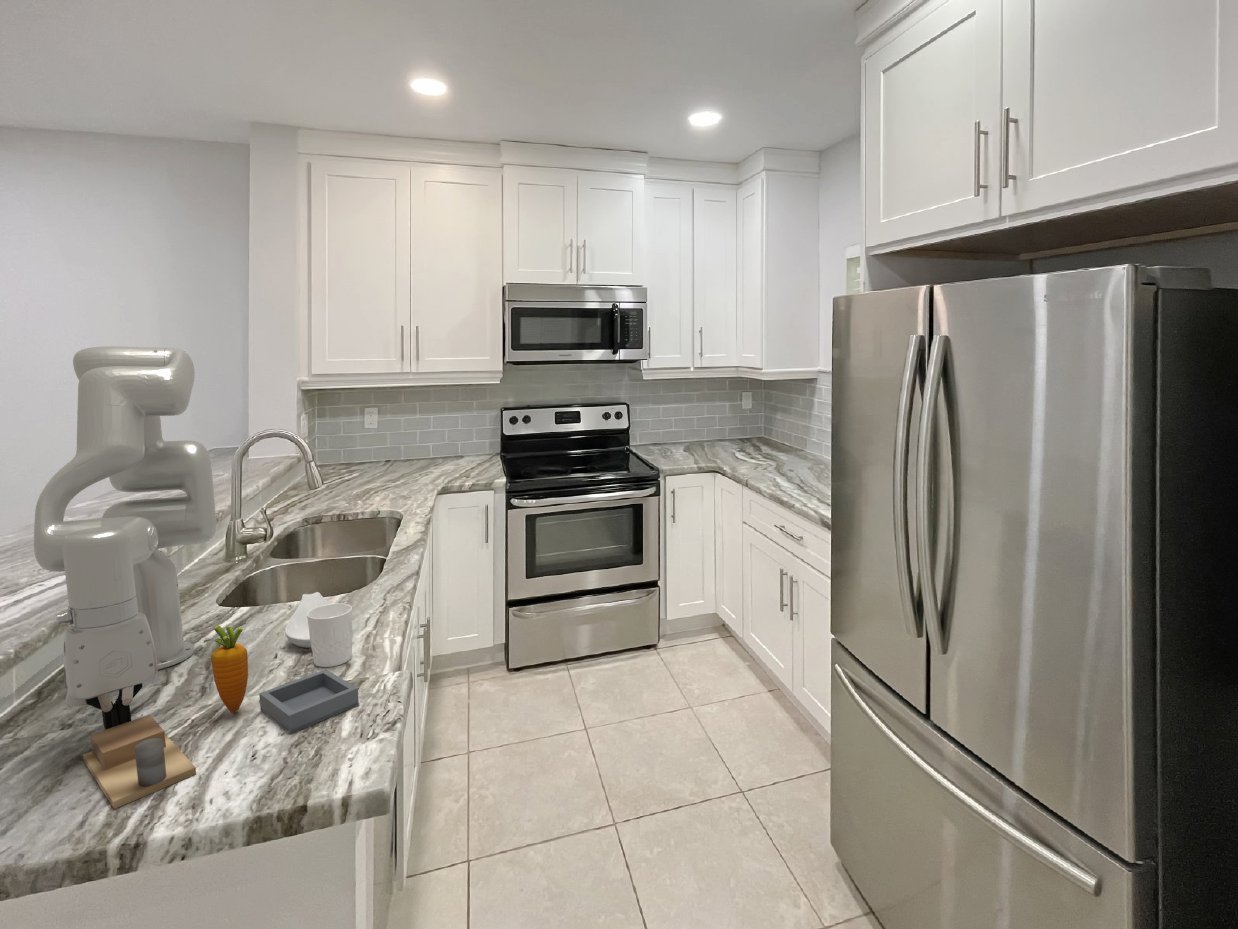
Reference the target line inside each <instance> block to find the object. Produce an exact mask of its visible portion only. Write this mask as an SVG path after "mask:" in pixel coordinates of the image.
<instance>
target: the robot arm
mask: <svg viewBox="0 0 1238 929" xmlns="http://www.w3.org/2000/svg"><path fill="white" fill-rule="evenodd" d="M72 363H73V370H74V373H75V375H76V378H77V379H78V384H77V411H76V412H77V419H76V420H77V422H76V452H75V455H74V457H72V459H71V460H70V461H69V462H67V463H66V464H64V466H62V467H61V468H60V469H59V470H58V471H57V472H56V473H55V474H54V475H52V477H51V478H50V479H49V481H48V482H47V483H46V485H45V486H44V488H42V491H41V493H40V494H39V497H38V499H37V501H36V505H35V509H34V510H35V511H34V524H33V525H34V526H33V527H34V528H33V552H34V557H35V559H36V562H37V564H38V565H39V566H40V567H41V568H42V569H43V570H46V571H49V572H54V573H61V572H64V574H65V575H64V576H65V583H66V592H67V600H68V605H67V609H66V611H64V612H62V613H60V614H56V616H55V620H56V623H57V625H61V624H65V625H67V624H68V625H69V626H68V627H66V628H65V634H64V640H63V679H64V686H65V689H66V694H65V695H66V696H65V700H64V703H65V705H66V707H68V708H75V707H83V706H91V707H93V708H95V709H98V710H101V715H102V717H101V718H102V723H103V728H104V729H103V730H106V729H109V728H112V727H115V726H118V725H121V724H124V723H127V722H130V721H132V716H131V707H130V706H131V704H132V703H133V699H134V698H135V697H136V696H137V695H138V693H139V692H140V691H141V690H142V689H143V688H144V687H147V686H149V685H151V684H153V683H155V682H157V681H158V679H159V675H158V670H162V669H165V668H169V667H172V666H175V665H176V664H180V663H181V662H183V661H185V660H187V659H188V658H190V657H191V656H192V655H193V654H194V652H195V647H194V644H193V643H192V642H191V641H186V640H184V631H183V620H182V611H181V610H182V609H181V601H180V600H181V599H180V591H179V590H180V588H179V581H178V571H177V568H176V566H175V563H174V562H173V561H172V559H170V558H169V557H168V556H167V555H166V554H165V553H163V552H162V551H161V549H165V548H173V547H181V546H190V545H197V544H198V545H199V544H204V543H207V542H209V541H211V540H212V539H213V538H214V536H215V534H216V530H217V515H216V503H215V492H214V481H213V471H212V469H213V468H212V463H211V458H210V454H209V451H208V450H207V447H206V446H205V445H203V444H202V443H201V442H199V441H195V440H164V439H163V435H162V434H163V433H162V419H161V417H168V416H169V417H170V416H180V415H182V414H183V413H185V411H187V408H188V406H189V403H190V400H191V396H192V391H193V387H194V383H195V366H194V362H193V360H192V358H191V356H190V354H188V353H187V352H186V351H184V350H183V349H181V348H175V347H149V346H147V347H145V346H143V347H142V346H141V347H139V346H120V345H119V346H117V345H115V346H113V345H111V346H106V345H105V346H92V347H91V346H90V347H86V348H82V349H80V350H79V351H76V353H75V354H74V355H73V359H72ZM107 478H108V479H109V482H110V483H111V484H110V485H111V486H112V487H113V489H115V490H116V491H118V492H122V493H123V492H124V493H150V492H151V493H152V492H163V491H167V492H168V491H182V492H184V493H185V494H186V496H173V497H157V498H156V497H155V498H142V499H141V498H140V499H131V500H126V501H121V502H118V503H115V504H113V505H111V506H109V507H108V508H107V509H106V510H105V511H104V512H103V515H102V516H101V517H100V518H89V519H79V520H66V521H64V517H65V512H66V509H67V507H68V505H69V504H70V503H71V501H72V500H73V499H74V498H75V497H76V496H77V495H78V494H79V493H81V492H82V491H84V490H85V489H87V488H89V487H90V486H92V485H94V484H96V483H99V482H101V481H103V480H105V479H107ZM114 692H117V698H116V699H115V701H114V702H113V701H112V700H111V698H110V695H109V694H110V693H114Z"/></svg>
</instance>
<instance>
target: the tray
mask: <svg viewBox="0 0 1238 929" xmlns="http://www.w3.org/2000/svg"><path fill="white" fill-rule="evenodd" d="M258 695H259V703H260V704H259V705H260V706H259V707H260V708H259V709H260V711H261V712H262V713H263V714H264V715H266V717H269V718H270V719H271V720H272V721H273V722H275V723H276V724H277V726H279V727H281V728H282V729H283V730H285V731H286V732H287V733H288V734H290V735H291V734H294V733H296V732H299V731H301V730H303V729H306V728H308V727H310V726H313V725H315V724H318V723H320V722H323V721H326V720H327V719H329V718H332V717H334V716H336V715H339V714H341V713H344V712H346V711H349V710H351V709H353V708H356V707H358V706H359V705H360V703H359V688H358V687H356V686H355V685H354V684H351V683H350V682H348V681H347V680H345V679H344V678H342V677H340V676H338V675H337V674H336V673H333V672H331V671H330V670H328V669H327V668H326V669H325V668H324V670H323V669H322V670H320V671H318V672H315V673H312V674H309V675H307V676H304V677H300V678H298V679H295V680H292V681H290V682H287V683H284V684H281V685H278V686H276V687H274V688H270V689H268V690H267V689H266V690H264V691H262V692H259V693H258Z"/></svg>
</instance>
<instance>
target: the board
mask: <svg viewBox="0 0 1238 929" xmlns="http://www.w3.org/2000/svg"><path fill="white" fill-rule="evenodd" d="M165 742H166V747H163V740H162V739H161V738H152V739H148V740H145V741H143V742H141V743H139V744H137V745H136V746H135V748H134V749H135V758H136V759H133V760H130V761H128V762H125V763H122V764H120V765H117V766H115V767H112V768H109V769H107V770H104V769H103V767H102V765H101V764H100V762H99V761H98V759H97V758H96V756H95V755H94V753H93V752H92V751H88V752H86V753H83V754H82V758H83V762H84V764H85V765H86V767H87V769H88V770H89V772H90V773H91V775H92V776H93V778H94V780H95V781H96V783H97V784H98V786H99V788H100V789H101V791H102V793H103V794H104V795H105V797H106V799H107V800H108V802H109V804H110V805H111V807H112V809H113V810H115V809H118V808H120V807H122V806H125V805H127V804H129V803H131V802H134V801H136V800H139V799H141V798H144V797H146V796H148V795H150V794H153V793H155V792H157V791H160V790H162V789H165V788H167V787H169V786H173V785H174V784H176V783H179V782H181V781H183V780H187V779H188V778H190V777H193V776H195V775H197V769H196V768H197V767H196V765H194V764H193V763H192V762H191V761H190V760H189V759H188V757H187V756H186V755H185V754H184V753H183V752H182V751H181V750H180V749H179V748H178V746H177V745H176V744H175V743H174V742H173V741H172V740H171V739H170V737H168V735H167V734H166V733H165Z"/></svg>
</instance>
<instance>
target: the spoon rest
mask: <svg viewBox="0 0 1238 929" xmlns="http://www.w3.org/2000/svg"><path fill="white" fill-rule="evenodd" d="M327 604H331V603H330V602H329V601H328V600H327V599H326V598H325V597H324V596H322V594H321V593H320V592H319V591H316V592H314V593H303V594H302V596H301V599H300V603H299V604H298V606H297V608H296V609H295V611H294V612H293V614H292V615H291V617H290V619H289V620H288V622H287V623H286V626H285V629H284V634H285V637H286V638H287V639H288V641H289V642H291V643H292V644H294V645H295V646H298V647H301V648H305V649H307V648H308V649H312V648H311V642H310V636H309V628H308V620H307V613H308V612H309V611H310V610H311V609H313V608H316V607H319V606H322V605H327Z"/></svg>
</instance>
